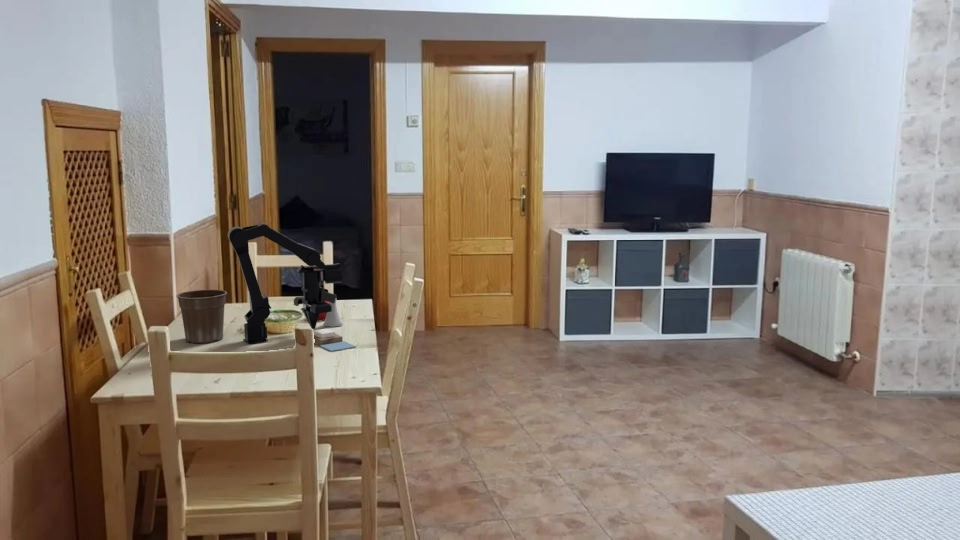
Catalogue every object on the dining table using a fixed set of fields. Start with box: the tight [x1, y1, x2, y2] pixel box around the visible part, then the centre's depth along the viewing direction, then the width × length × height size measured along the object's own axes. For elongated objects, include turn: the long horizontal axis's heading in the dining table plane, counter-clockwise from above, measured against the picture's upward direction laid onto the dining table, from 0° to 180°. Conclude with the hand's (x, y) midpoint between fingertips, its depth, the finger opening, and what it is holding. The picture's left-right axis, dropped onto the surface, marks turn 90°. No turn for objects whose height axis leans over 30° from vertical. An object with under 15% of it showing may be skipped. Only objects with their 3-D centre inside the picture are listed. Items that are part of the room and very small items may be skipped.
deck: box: [314, 333, 343, 346], centre depth 258 cm, size 8×9×2 cm
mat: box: [319, 341, 357, 353], centre depth 252 cm, size 9×8×1 cm
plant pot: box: [176, 289, 228, 344], centre depth 260 cm, size 16×16×16 cm
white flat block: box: [313, 327, 336, 338], centre depth 259 cm, size 5×6×2 cm
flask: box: [322, 298, 344, 328], centre depth 282 cm, size 7×7×10 cm
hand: (313, 328), depth 266 cm, fingers closed
